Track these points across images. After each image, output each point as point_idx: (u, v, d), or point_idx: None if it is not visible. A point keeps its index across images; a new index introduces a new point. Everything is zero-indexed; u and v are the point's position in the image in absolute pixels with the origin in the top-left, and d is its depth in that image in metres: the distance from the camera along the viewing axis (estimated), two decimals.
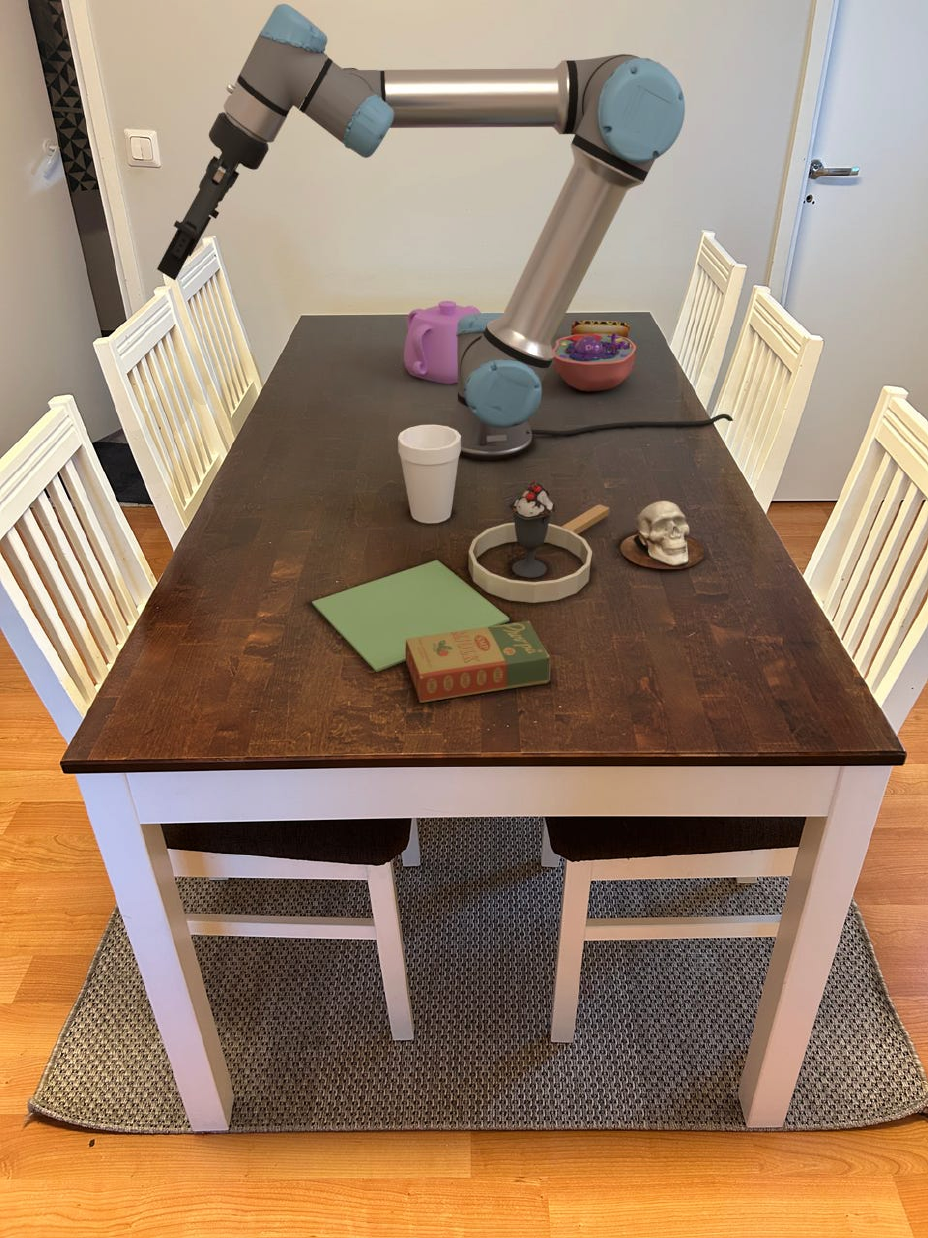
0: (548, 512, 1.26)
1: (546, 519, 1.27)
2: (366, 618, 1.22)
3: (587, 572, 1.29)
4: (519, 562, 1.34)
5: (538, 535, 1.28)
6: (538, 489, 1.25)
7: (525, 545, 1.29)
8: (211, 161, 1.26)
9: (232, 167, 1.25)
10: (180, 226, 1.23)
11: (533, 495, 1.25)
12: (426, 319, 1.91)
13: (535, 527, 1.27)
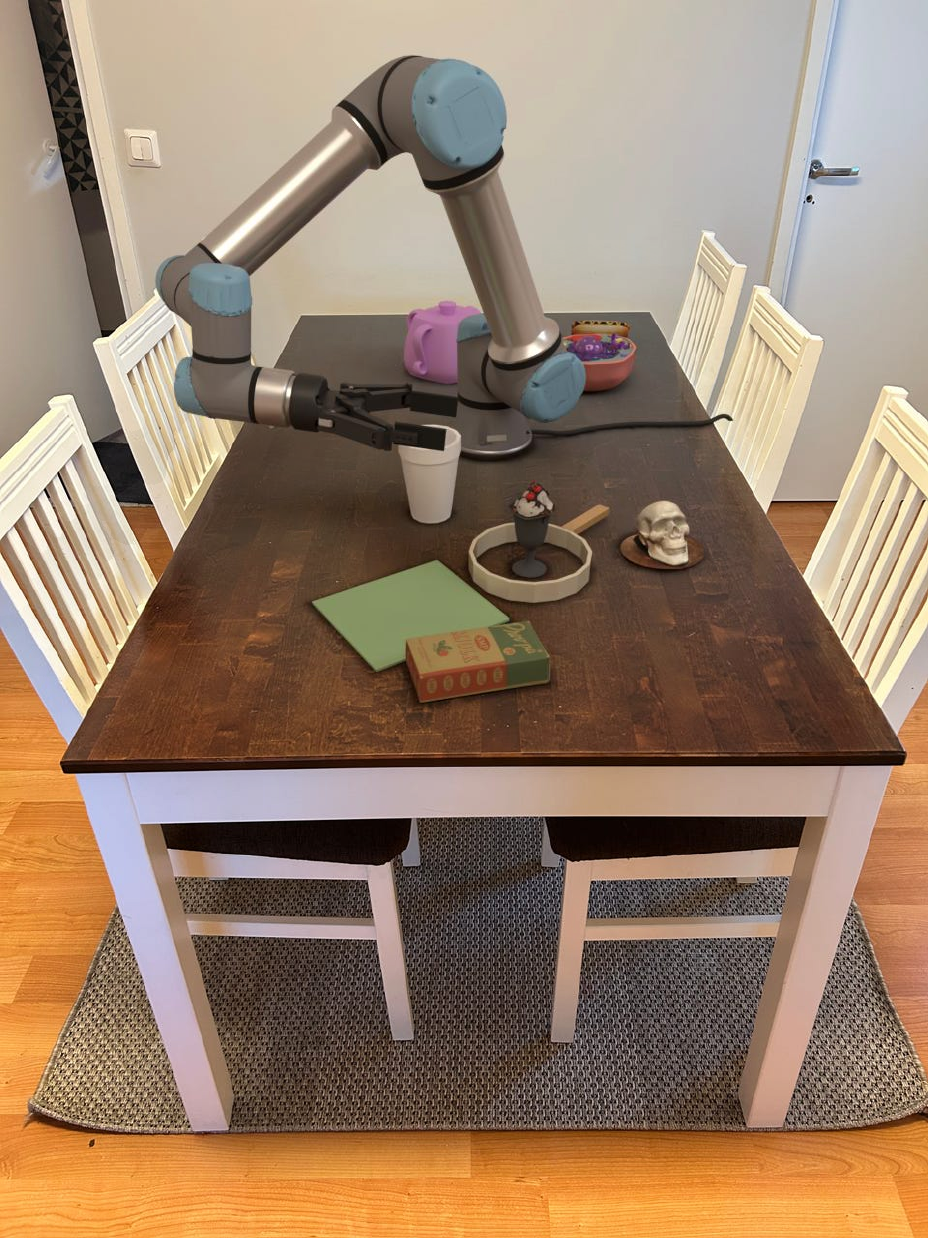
0: (548, 512, 1.26)
1: (546, 519, 1.27)
2: (366, 618, 1.22)
3: (587, 572, 1.29)
4: (519, 562, 1.34)
5: (538, 535, 1.28)
6: (538, 489, 1.25)
7: (525, 545, 1.29)
8: None
9: (322, 406, 1.20)
10: (380, 448, 1.15)
11: (533, 495, 1.25)
12: (426, 319, 1.91)
13: (535, 527, 1.27)
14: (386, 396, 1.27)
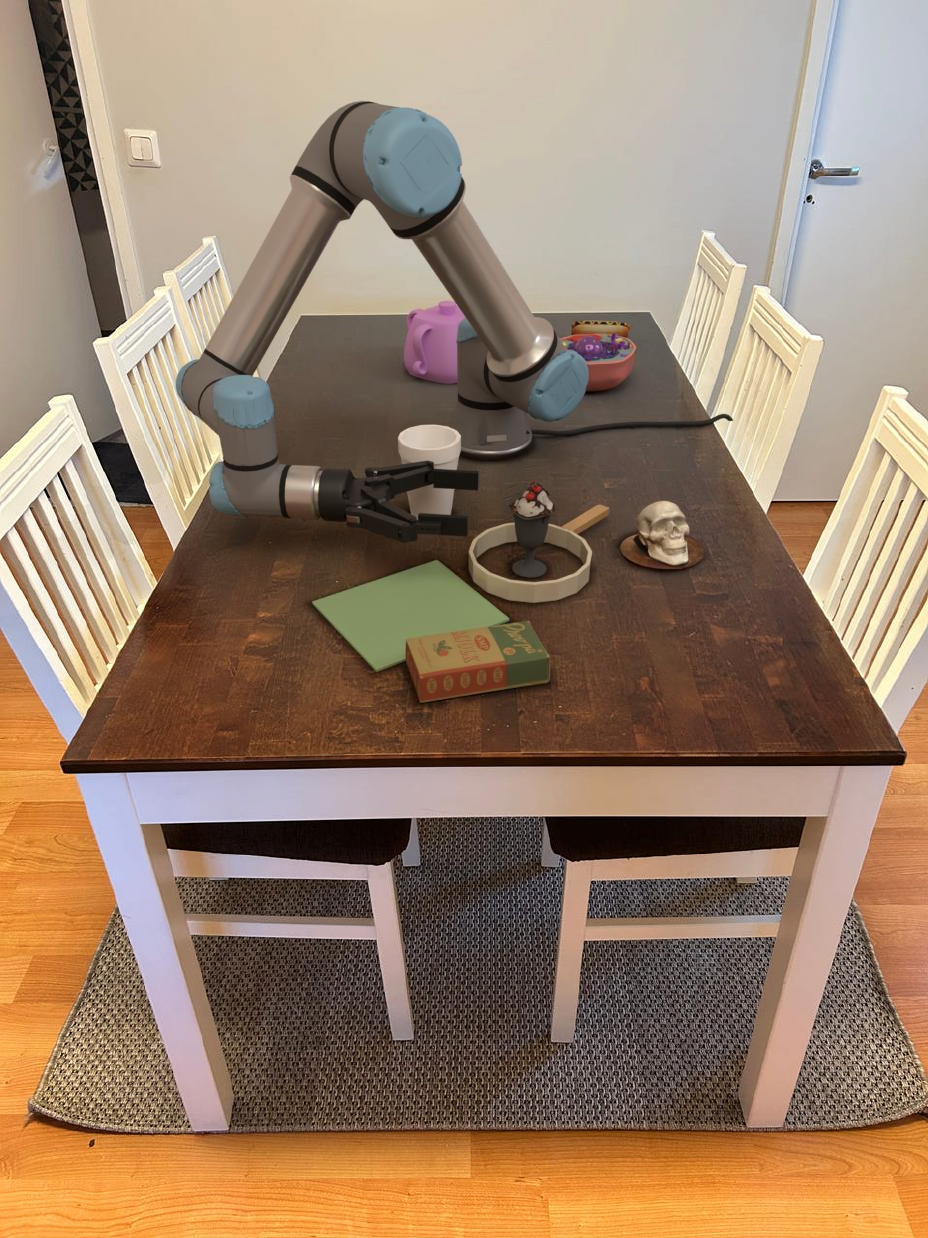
0: (548, 512, 1.26)
1: (546, 519, 1.27)
2: (366, 618, 1.22)
3: (587, 572, 1.29)
4: (519, 562, 1.34)
5: (538, 535, 1.28)
6: (538, 489, 1.25)
7: (525, 545, 1.29)
8: None
9: (349, 501, 1.26)
10: (406, 541, 1.21)
11: (533, 495, 1.25)
12: (426, 319, 1.91)
13: (535, 527, 1.27)
14: (409, 478, 1.33)
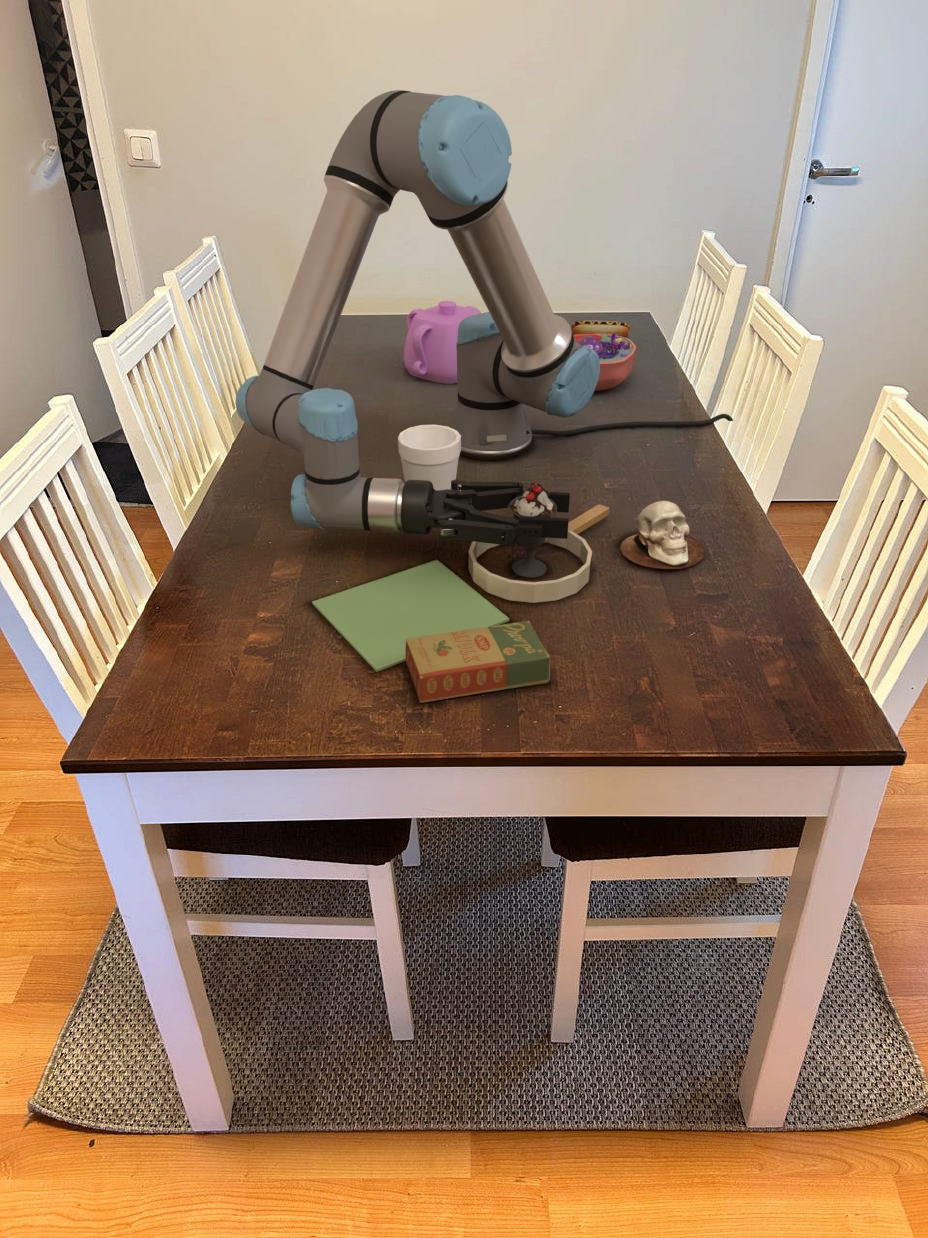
0: (548, 512, 1.26)
1: None
2: (366, 618, 1.22)
3: (587, 572, 1.29)
4: (519, 562, 1.34)
5: None
6: (538, 489, 1.25)
7: (525, 545, 1.29)
8: None
9: (432, 514, 1.26)
10: (510, 544, 1.23)
11: (533, 495, 1.25)
12: (426, 318, 1.91)
13: None
14: (494, 497, 1.30)
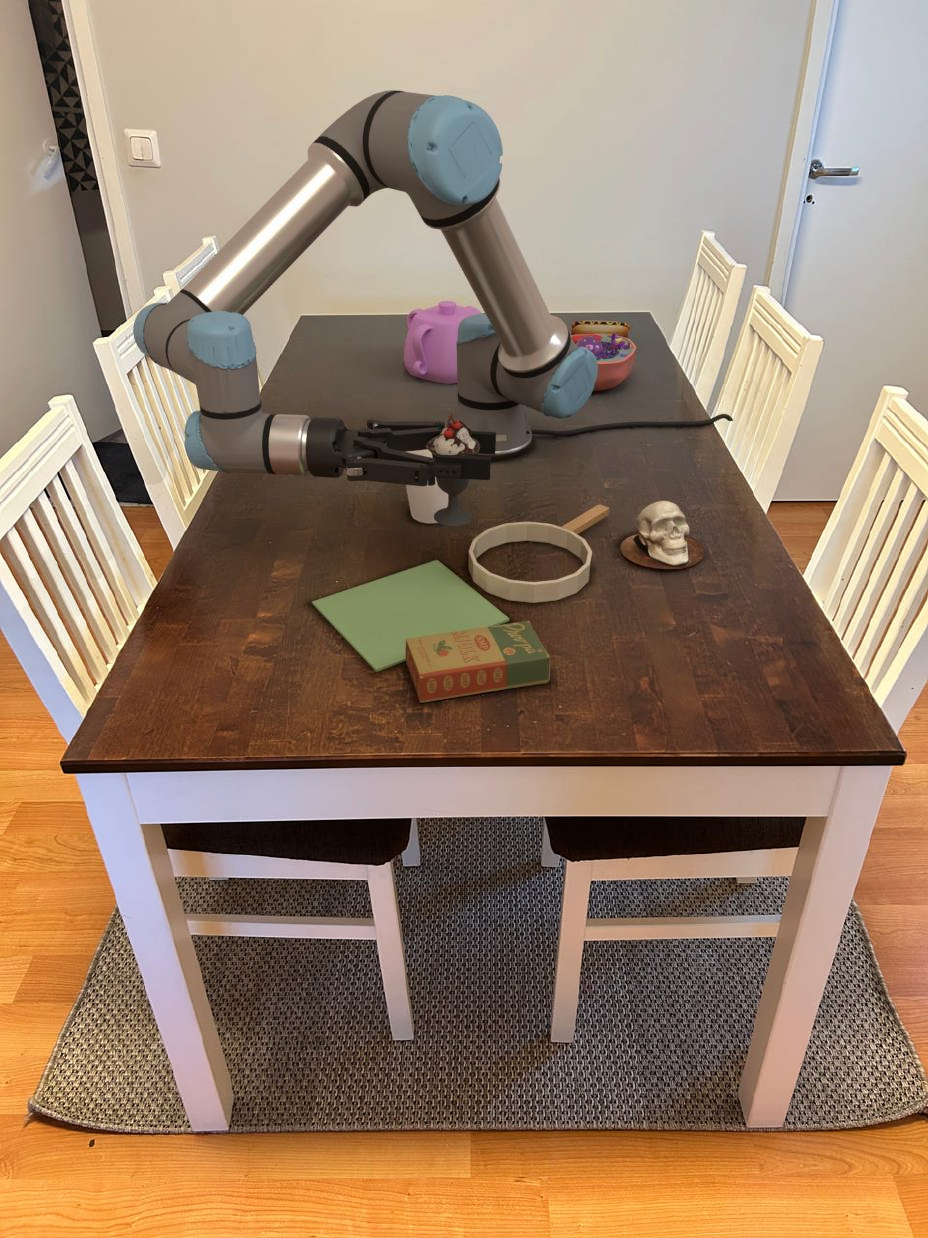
0: (469, 451, 1.13)
1: None
2: (366, 618, 1.22)
3: (587, 572, 1.29)
4: (442, 510, 1.21)
5: None
6: (457, 425, 1.12)
7: (445, 489, 1.16)
8: None
9: (340, 453, 1.13)
10: (425, 485, 1.10)
11: (451, 432, 1.12)
12: (426, 318, 1.91)
13: None
14: (412, 436, 1.18)
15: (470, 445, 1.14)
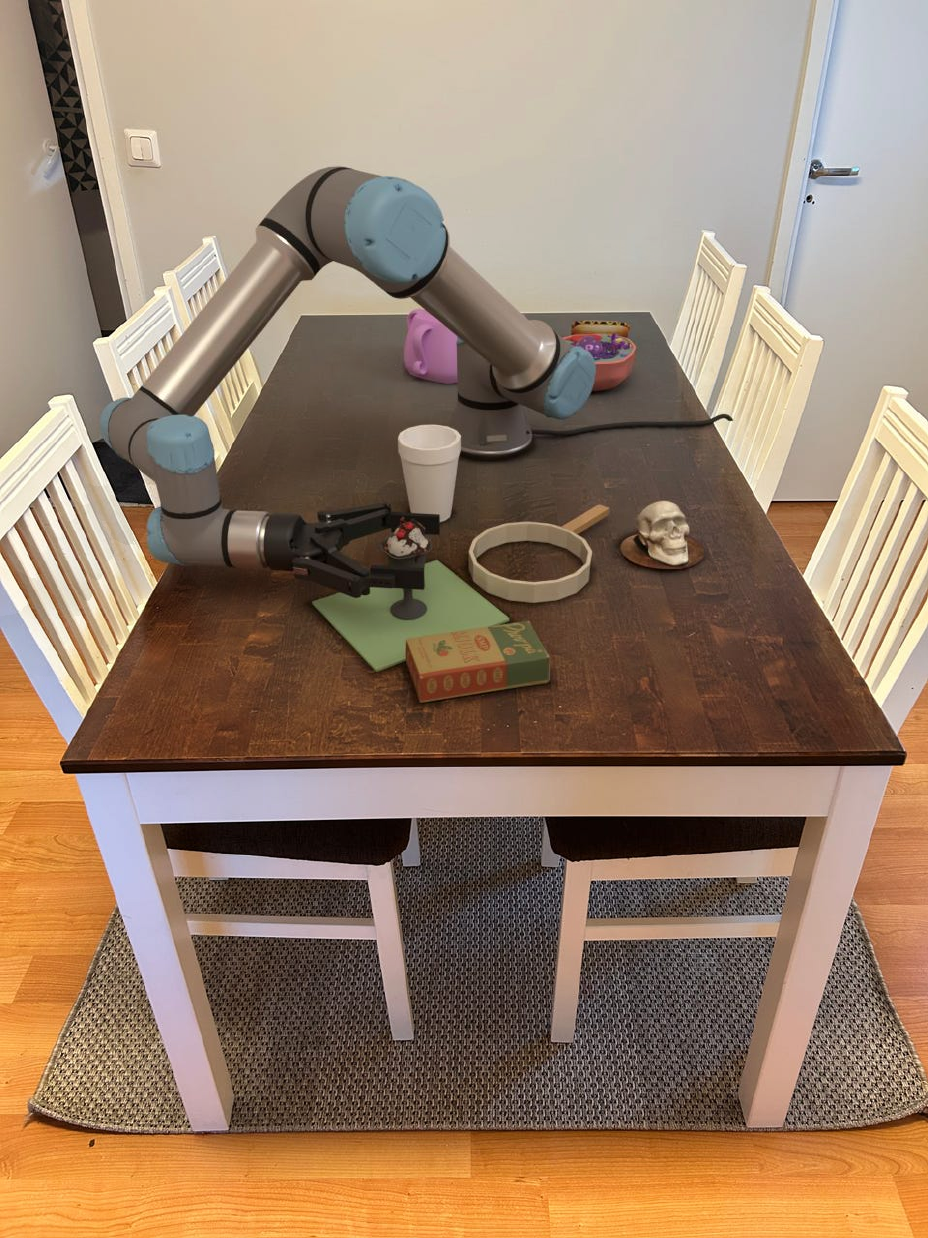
0: (421, 551, 1.17)
1: (420, 558, 1.17)
2: (366, 618, 1.22)
3: (587, 572, 1.29)
4: (398, 602, 1.25)
5: None
6: (409, 526, 1.16)
7: None
8: None
9: (297, 551, 1.16)
10: (357, 596, 1.11)
11: (403, 533, 1.15)
12: (426, 318, 1.91)
13: (408, 566, 1.17)
14: (364, 522, 1.23)
15: (422, 544, 1.17)
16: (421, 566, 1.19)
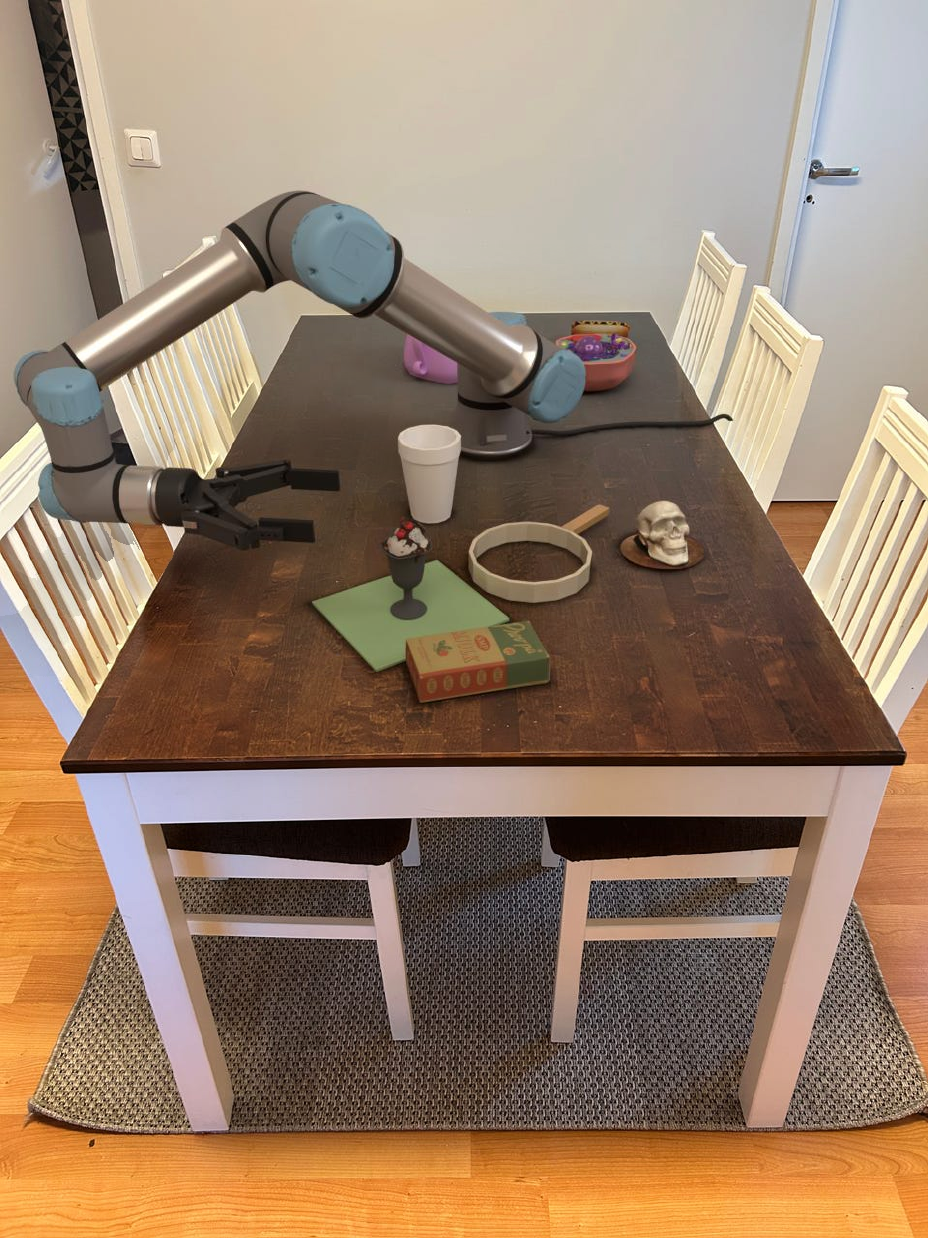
0: (421, 551, 1.17)
1: (420, 558, 1.17)
2: (366, 618, 1.22)
3: (587, 572, 1.29)
4: (398, 602, 1.25)
5: (412, 575, 1.18)
6: (409, 526, 1.16)
7: (400, 585, 1.20)
8: None
9: (188, 505, 1.15)
10: (244, 549, 1.10)
11: (403, 533, 1.15)
12: None
13: (408, 566, 1.17)
14: (262, 479, 1.21)
15: (422, 544, 1.17)
16: (421, 566, 1.19)
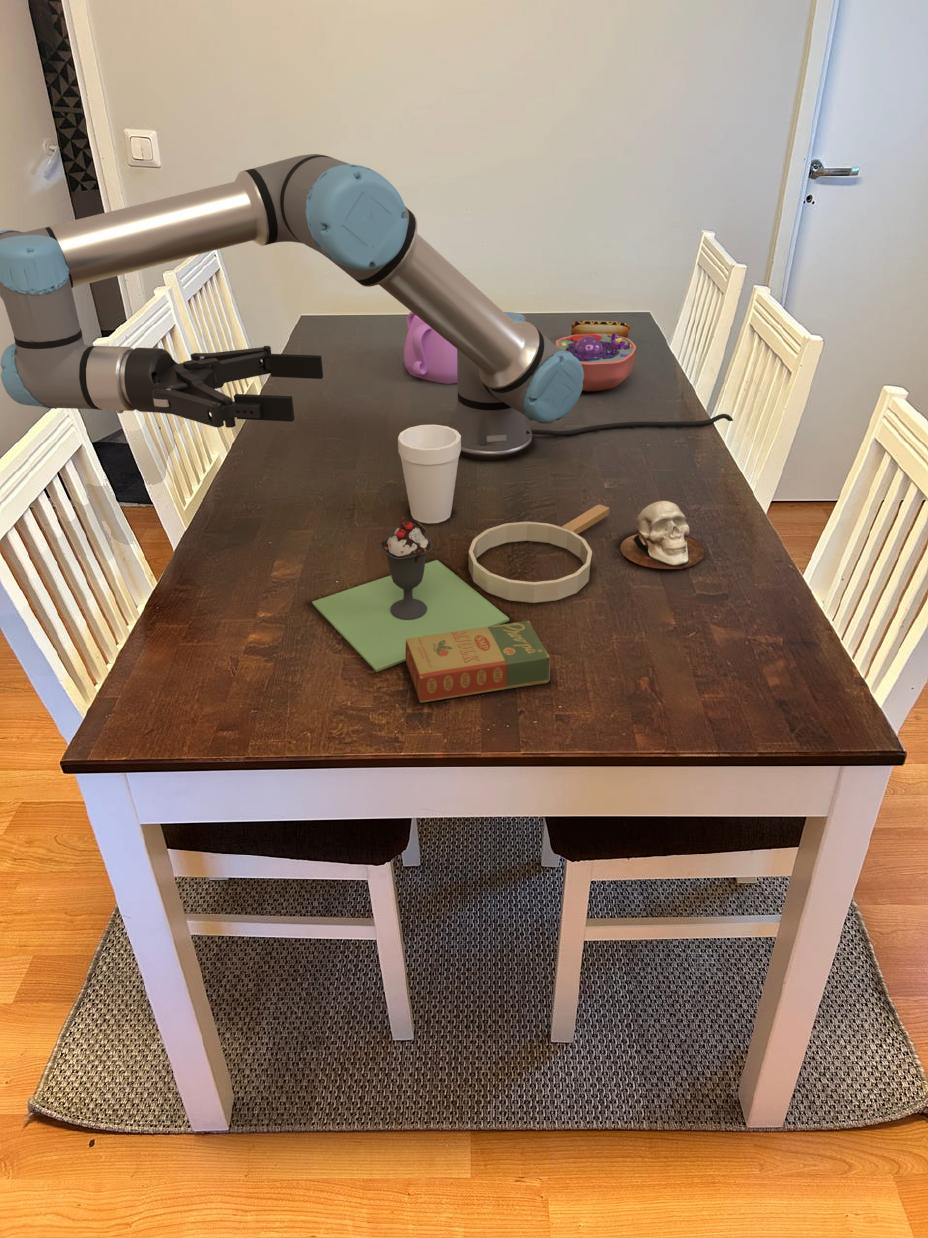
0: (421, 551, 1.17)
1: (420, 558, 1.17)
2: (366, 618, 1.22)
3: (587, 572, 1.29)
4: (398, 602, 1.25)
5: (412, 575, 1.18)
6: (409, 526, 1.16)
7: (400, 585, 1.20)
8: None
9: (160, 384, 1.08)
10: (218, 426, 1.03)
11: (403, 533, 1.15)
12: None
13: (408, 566, 1.17)
14: (240, 363, 1.14)
15: (422, 544, 1.17)
16: (421, 566, 1.19)
